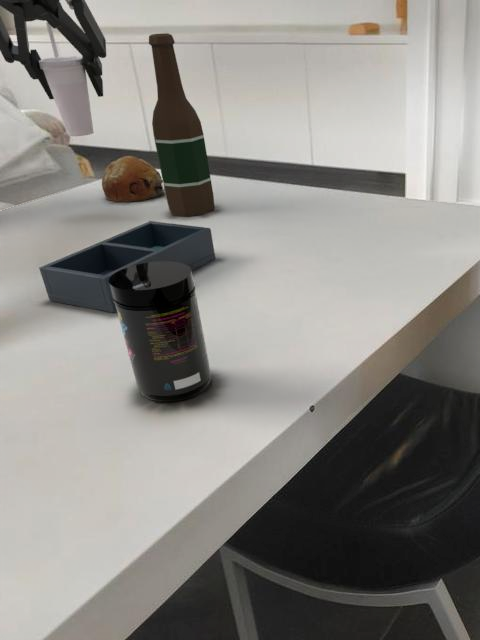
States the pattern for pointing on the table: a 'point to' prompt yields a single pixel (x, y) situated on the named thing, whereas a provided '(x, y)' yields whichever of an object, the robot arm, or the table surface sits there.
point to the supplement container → (162, 329)
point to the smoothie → (69, 90)
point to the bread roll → (131, 180)
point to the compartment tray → (123, 261)
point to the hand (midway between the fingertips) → (76, 89)
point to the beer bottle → (179, 137)
